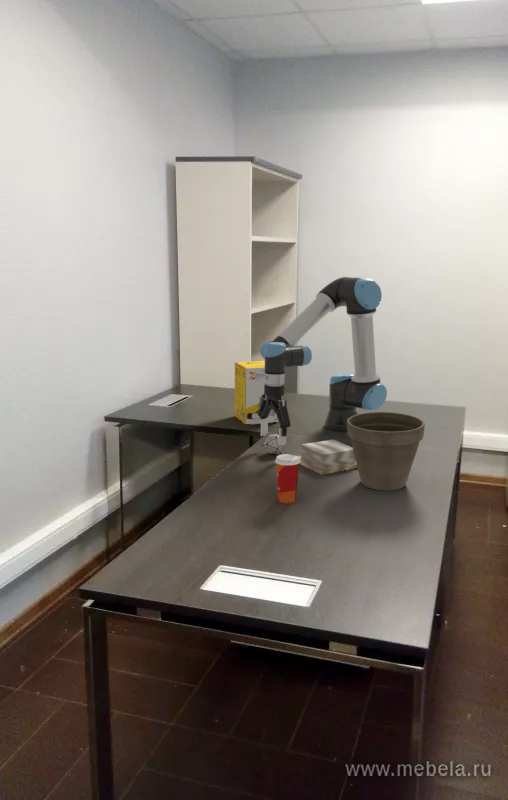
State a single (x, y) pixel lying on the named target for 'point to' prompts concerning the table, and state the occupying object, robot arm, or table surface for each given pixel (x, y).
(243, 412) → the packaging box
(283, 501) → the paper cup
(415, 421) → the plant pot
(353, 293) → the robot arm
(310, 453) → the tower base
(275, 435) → the wireframe icosahedron
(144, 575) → the table surface
